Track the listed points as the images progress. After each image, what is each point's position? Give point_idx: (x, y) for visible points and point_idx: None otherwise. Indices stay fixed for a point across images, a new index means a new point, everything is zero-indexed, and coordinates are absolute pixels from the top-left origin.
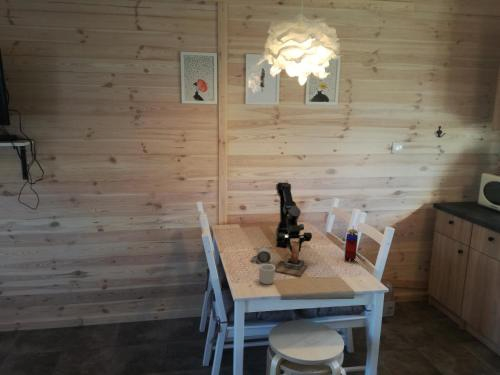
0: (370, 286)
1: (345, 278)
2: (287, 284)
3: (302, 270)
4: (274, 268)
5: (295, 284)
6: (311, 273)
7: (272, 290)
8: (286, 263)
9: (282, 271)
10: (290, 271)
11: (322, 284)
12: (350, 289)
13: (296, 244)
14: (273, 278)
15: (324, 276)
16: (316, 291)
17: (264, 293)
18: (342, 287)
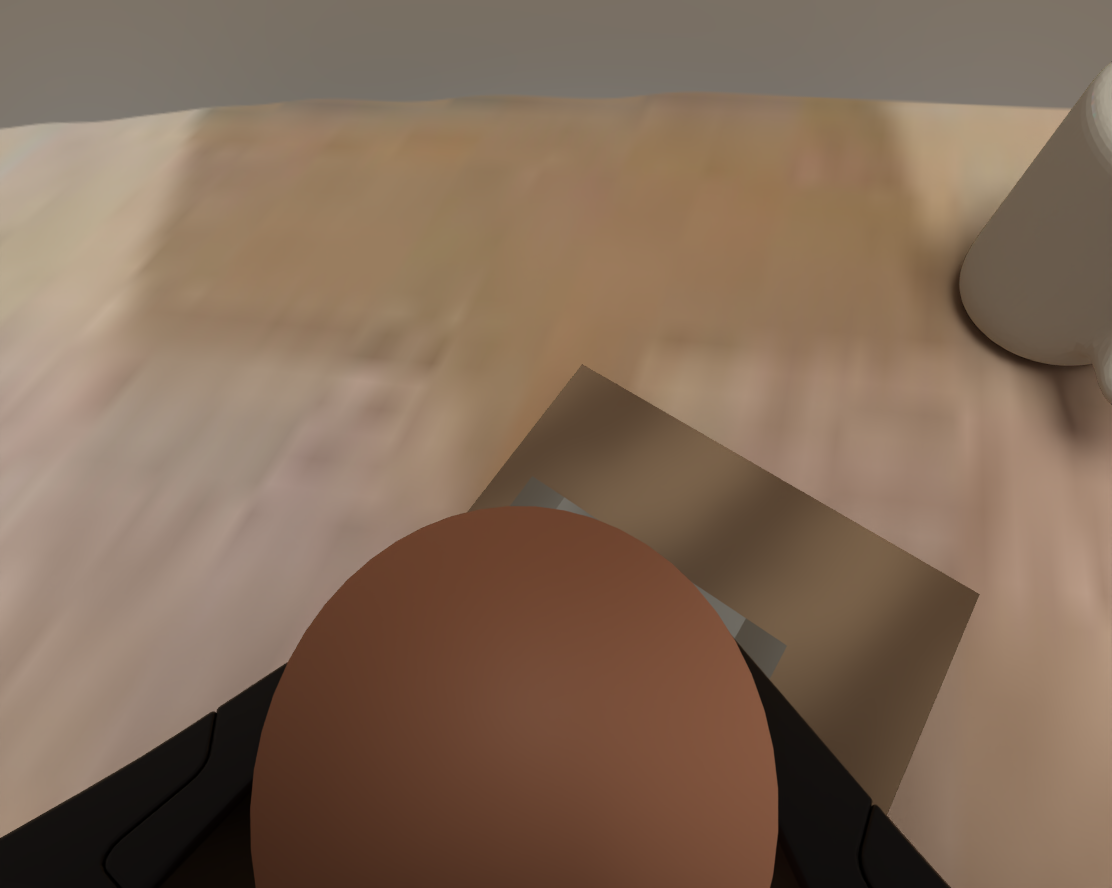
0: (10, 150)
1: (92, 299)
2: (777, 238)
3: (492, 503)
4: (1108, 72)
5: (688, 232)
6: (391, 461)
7: (954, 149)
8: (744, 631)
9: (808, 508)
10: (683, 493)
11: (407, 210)
12: (216, 121)
13: (533, 509)
14: (987, 225)
15: (280, 366)
16: (528, 111)
17: (1037, 111)
18: (258, 152)
